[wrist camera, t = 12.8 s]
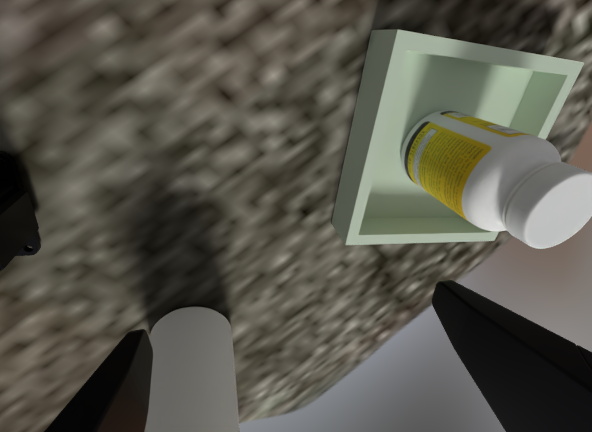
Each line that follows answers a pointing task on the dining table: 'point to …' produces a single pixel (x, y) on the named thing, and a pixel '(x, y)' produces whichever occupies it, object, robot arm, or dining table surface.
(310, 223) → the dining table surface
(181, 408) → the can
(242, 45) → the dining table surface
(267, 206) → the dining table surface
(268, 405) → the dining table surface
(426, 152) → the supplement bottle
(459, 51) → the tray
